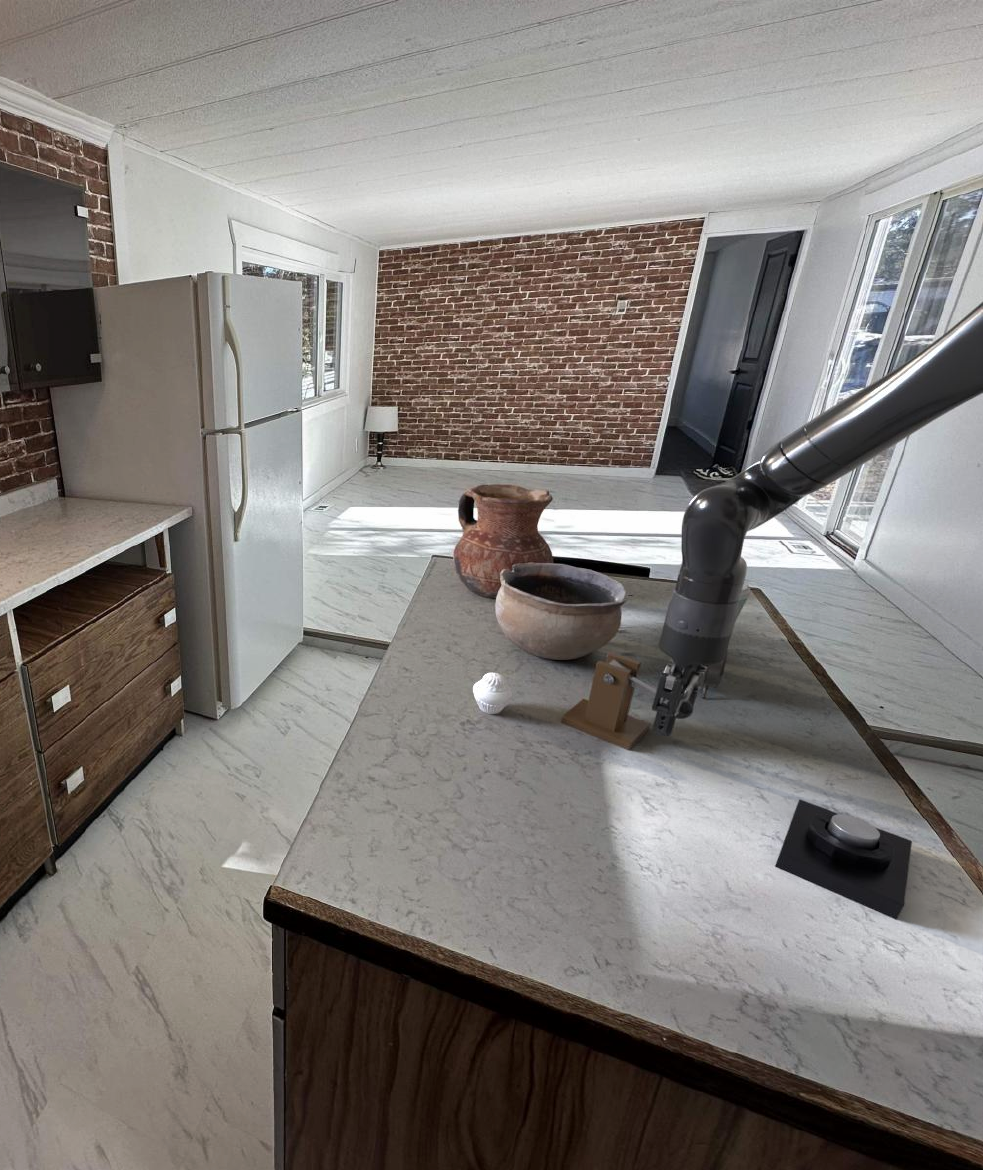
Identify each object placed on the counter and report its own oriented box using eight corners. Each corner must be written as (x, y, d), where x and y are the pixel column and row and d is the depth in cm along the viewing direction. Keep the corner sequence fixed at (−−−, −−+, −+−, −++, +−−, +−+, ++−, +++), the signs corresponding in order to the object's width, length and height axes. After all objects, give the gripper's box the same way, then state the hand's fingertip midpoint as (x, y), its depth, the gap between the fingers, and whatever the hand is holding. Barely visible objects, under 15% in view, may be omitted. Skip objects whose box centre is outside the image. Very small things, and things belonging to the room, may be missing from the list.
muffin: (488, 696, 110) (493, 661, 108) (517, 713, 105) (523, 677, 103) (462, 705, 108) (467, 670, 105) (491, 723, 103) (497, 687, 100)
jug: (545, 579, 158) (561, 482, 148) (550, 612, 140) (569, 504, 131) (452, 570, 167) (462, 478, 157) (446, 600, 149) (457, 498, 140)
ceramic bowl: (492, 619, 139) (501, 555, 133) (606, 634, 129) (621, 567, 124) (487, 665, 120) (497, 593, 115) (619, 686, 111) (637, 610, 105)
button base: (794, 812, 82) (803, 787, 80) (905, 854, 75) (917, 829, 73) (774, 866, 74) (785, 840, 72) (896, 920, 67) (910, 892, 65)
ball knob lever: (689, 718, 92) (700, 702, 90) (681, 726, 90) (693, 710, 89) (607, 671, 100) (616, 656, 98) (598, 678, 98) (608, 663, 96)
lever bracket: (648, 729, 99) (666, 665, 95) (628, 750, 95) (646, 683, 90) (582, 704, 107) (595, 643, 102) (560, 722, 102) (573, 659, 98)
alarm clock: (715, 704, 105) (743, 617, 99) (676, 696, 108) (700, 611, 101) (710, 675, 113) (735, 593, 107) (674, 668, 116) (695, 588, 110)
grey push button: (829, 820, 76) (834, 809, 75) (876, 838, 73) (881, 826, 72) (824, 837, 73) (829, 826, 72) (872, 856, 70) (878, 844, 70)
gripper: (714, 649, 80) (685, 753, 86) (747, 616, 88) (718, 714, 94) (647, 631, 86) (624, 730, 92) (684, 602, 93) (660, 694, 99)
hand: (672, 721), depth 93 cm, fingers open, 8 cm apart
